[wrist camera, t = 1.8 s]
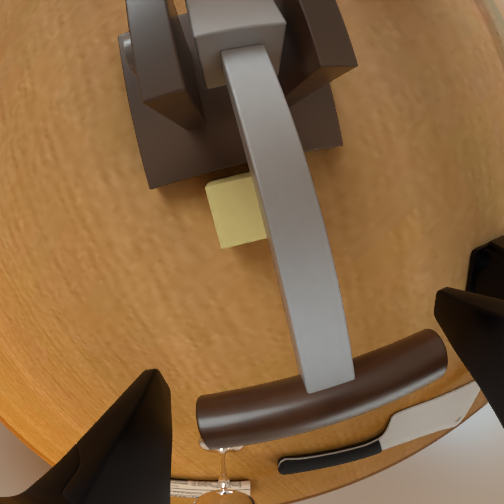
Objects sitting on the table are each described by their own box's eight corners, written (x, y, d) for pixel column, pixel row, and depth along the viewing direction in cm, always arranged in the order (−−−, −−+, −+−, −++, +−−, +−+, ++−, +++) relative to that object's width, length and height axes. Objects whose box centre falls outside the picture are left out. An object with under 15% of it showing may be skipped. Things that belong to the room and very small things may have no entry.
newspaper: (249, 477, 26) (250, 488, 24) (247, 493, 28) (249, 502, 27) (77, 458, 24) (75, 467, 22) (96, 477, 26) (94, 486, 24)
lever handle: (412, 362, 7) (458, 391, 5) (218, 420, 7) (208, 474, 4) (306, 19, 7) (318, -27, 5) (141, 50, 7) (118, 6, 5)
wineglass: (258, 449, 23) (274, 548, 12) (207, 458, 23) (211, 552, 12) (239, 423, 21) (253, 544, 10) (182, 434, 21) (177, 545, 10)
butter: (299, 216, 15) (312, 227, 13) (221, 234, 15) (221, 250, 13) (288, 163, 14) (301, 165, 12) (207, 181, 14) (204, 187, 12)
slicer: (334, 145, 14) (447, 149, 6) (155, 186, 14) (75, 233, 6) (297, 7, 11) (356, -82, 3) (124, 42, 11) (47, -31, 3)
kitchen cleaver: (490, 377, 25) (463, 425, 27) (484, 372, 27) (457, 420, 29) (288, 436, 21) (276, 482, 24) (285, 424, 23) (274, 472, 25)
